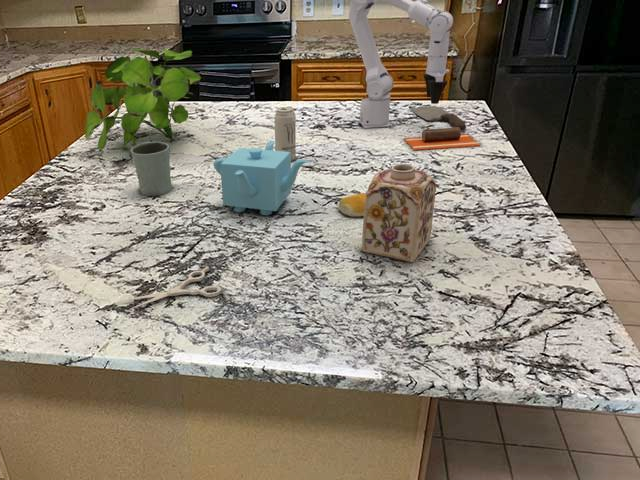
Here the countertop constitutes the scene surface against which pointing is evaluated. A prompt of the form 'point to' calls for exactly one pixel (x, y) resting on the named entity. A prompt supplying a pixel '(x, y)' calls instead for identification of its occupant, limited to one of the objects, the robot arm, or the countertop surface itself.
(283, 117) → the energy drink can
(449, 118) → the cleaver
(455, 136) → the rolling pin
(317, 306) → the countertop surface
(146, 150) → the grey cup
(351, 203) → the bread roll
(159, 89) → the indoor plant
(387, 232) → the decorative jar
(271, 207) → the teakettle
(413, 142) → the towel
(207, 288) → the scissors
